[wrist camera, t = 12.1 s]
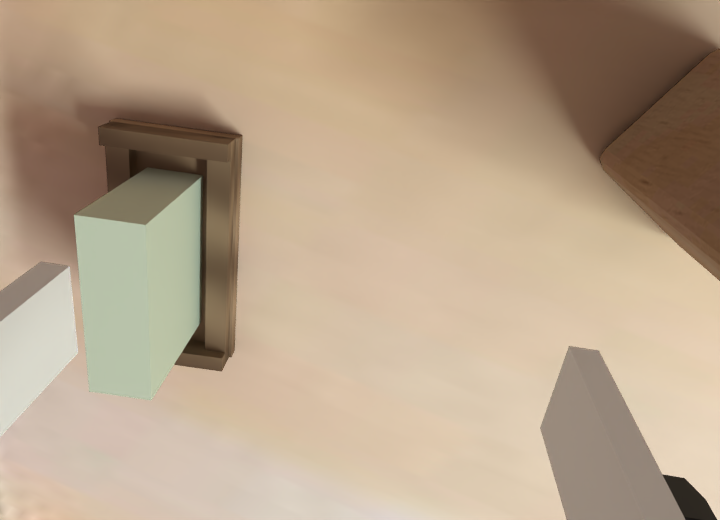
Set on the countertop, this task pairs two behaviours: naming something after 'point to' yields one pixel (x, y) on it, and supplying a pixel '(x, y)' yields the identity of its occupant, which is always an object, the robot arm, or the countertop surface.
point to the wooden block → (677, 162)
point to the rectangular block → (140, 279)
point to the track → (220, 216)
